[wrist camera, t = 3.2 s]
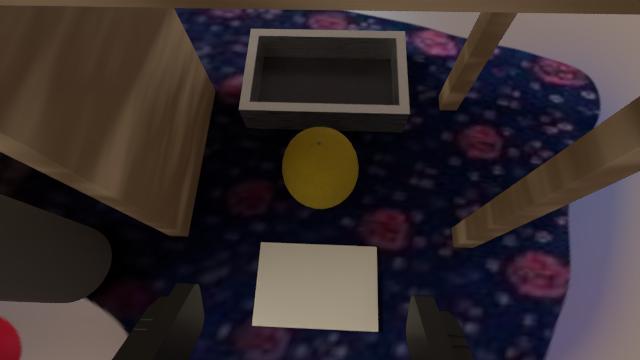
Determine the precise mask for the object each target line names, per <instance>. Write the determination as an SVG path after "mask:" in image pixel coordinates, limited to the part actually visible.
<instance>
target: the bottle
mask: <svg viewBox="0 0 640 360" xmlns="http://www.w3.org/2000/svg"><path fill="white" fill-rule="evenodd" d="M111 260H112V251H111V246H110V244H109V241H108V240H107V238H106V237H105V236H104V235H103V234H102V233H100V232H99V231H97V230H95V229H93V228H90V227H88V226H86V225H83V224H80V223H77V222H75V221H72V220H69V219H67V218H64V217H61V216H58V215H56V214H53V213H50V212H48V211H45V210H42V209H39V208H37V207H34V206H31V205H29V204H26V203H23V202H20V201H18V200H15V199H12V198H10V197H7V196H4V195H1V194H0V301H17V302H40V303H69V302H74V301H77V300H80V299H82V298H84V297H86V296H88V295H89V294H91V293H92V292H93V291H95V290H96V289H97V288H98V287H99V285H100V284H101V283H102V282H103V280H104V279H105V277H106V275H107V274H108V271H109V268H110V266H111Z"/></svg>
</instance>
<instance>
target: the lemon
mask: <svg viewBox="0 0 640 360" xmlns="http://www.w3.org/2000/svg"><path fill="white" fill-rule="evenodd" d="M358 168H359V166H358V160H357V155H356V152H355V150H354V148H353V146H352V144H351V143H350V141H349V140H348V139H347V138H346V137H345V136H344V135H343V134H341V133H340V132H338V131H337V130H334V129H331V128H327V127H312V128H309V129H306V130H304V131H302V132H300V133H299V134H297V135H296V136H295V137H294V138H293V139H292V140H291V142H290V143H289V145H288V146H287V148H286V151H285V154H284V157H283V162H282V174H283V178H284V182H285V185H286V187H287V189H288V190H289V192H290V194H291V195H292V196H293V197H294V198H295V199H296V200H297V201H298V202H300V203H302V204H303V205H305V206H308V207H311V208H315V209H326V208H331V207H333V206H335V205H338V204H340V203H341V202H342V201H344V200H345V199H346V198H347V197H348V196H349V195H350V193H351V192H352V190H353V189H354V187H355V184H356V181H357V178H358Z"/></svg>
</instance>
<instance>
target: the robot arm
mask: <svg viewBox="0 0 640 360" xmlns="http://www.w3.org/2000/svg"><path fill="white" fill-rule="evenodd" d="M203 324H204V310H203V304H202V297H201V291H200V286H199V285H198V284H189V283H177V284H176V285H175V287H174V288H173V290H172V291H171V293H170V294H169V296H168V297H162V296H161V297H160V298H159V299H158V300H156V301H155V302H154V303H153V304H151V305H150V306H149V307H148V308H147V310H146V311H145V313H144V314H143V316H142V317H141V320H140V321H138V323H137V324H136V326H135V327H134V330H132V332H131V333H130V335H129V336H128V337H127V339H126V340H125V342H124V343H123V345H122V346H121V348H120V349H119V350H118V352H117V353H116V355H115V356H114V358H113V359H112V360H189V357H190V355H191V353H192V351H193V349H194V346H195V344H196V342H197V340H198V338H199V336H200V333H201V331H202V328H203ZM406 339H407V345H408V350H409V354H410V359H411V360H474V359H473V356H472V354H471V351H470V349H469V348H468V347H469V346H468V344H467V342H466V339H465V338H464V334H463V332H462V330H461V327H460V325H459V323H458V322H457V320H456V319H455V318H454V317H453V316H452V315H451V314H450V313H449V312H448V311H439V310H438V307H437V305H436V302H435V299H434V297H433V296H427V295H412V296H411V299H410V305H409V311H408V318H407V324H406Z"/></svg>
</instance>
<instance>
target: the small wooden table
mask: <svg viewBox="0 0 640 360" xmlns="http://www.w3.org/2000/svg"><path fill="white" fill-rule="evenodd" d="M174 8H228V9H297V10H369V11H373V10H374V11H438V12H481V13H480V15H479V17H478V19H477V21H476V23H475V25H474V27H473V29H472V31H471V33H470V35H469V37H468V39H467V41H466V43H465V45H464V47H463V49H462V51H461V53H460V55H459V57H458V58H457V60H456V62H455V64H454V66H453V68H452V70H451V72H450V74H449V76H448V78H447V80H446V82H445V84H444V86H443V88H442V90H441V92H440V94H439V96H438V97H439V107H440V110H457V109H458V107H459V106H460V104H461V102H462V101H463V99H464V98H465V96H466V94H467V93H468V91H469V90H470V88H471V86H472V85H473V83H474V82H475V80H476V79H477V77H478V75H479V74H480V72H481V71H482V69H483V67H484V66H485V64H486V63H487V61H488V59H489V58H490V56H491V55H492V53H493V51H494V50H495V48H496V47H497V45H498V44H499V42H500V40H501V39H502V37H503V35H504V34H505V32H506V31H507V29H508V28H509V26H510V24H511V22H512V21H513V20H514V18H515V16H516V15H517V13H577V14H580V13H581V14H640V0H0V152H2V153H4V154H6V155H8V156H10V157H12V158H14V159H16V160H18V161H20V162H22V163H24V164H26V165H28V166H30V167H32V168H34V169H36V170H38V171H40V172H42V173H44V174H46V175H48V176H50V177H52V178H54V179H57V180H59V181H61V182H63V183H65V184H67V185H69V186H71V187H73V188H75V189H77V190H79V191H81V192H83V193H85V194H87V195H89V196H91V197H93V198H95V199H97V200H99V201H101V202H103V203H105V204H107V205H109V206H111V207H113V208H115V209H117V210H119V211H121V212H123V213H125V214H127V215H129V216H131V217H133V218H135V219H137V220H139V221H141V222H143V223H145V224H147V225H149V226H151V227H153V228H155V229H157V230H159V231H161V232H163V233H165V234H167V235H169V236H187V237H188V234H189V229H190V224H191V218H192V213H193V208H194V202H195V197H196V192H197V186H198V181H199V176H200V171H201V165H202V160H203V155H204V149H205V144H206V139H207V133H208V128H209V123H210V117H211V112H212V107H213V102H214V96H215V89H214V87H213V85H212V83H211V81H210V79H209V77H208V75H207V73H206V71H205V69H204V67H203V65H202V63H201V61H200V59H199V57H198V55H197V53H196V51H195V49H194V47H193V45H192V43H191V41H190V39H189V38H188V36H187V34H186V32H185V30H184V28H183V26H182V24H181V22H180V20H179V18H178V16H177V14H176V12H175V10H174ZM638 171H640V97H638V98H637V99H635V100H634V101H632V102H631V103H630V104H628V105H627V106H625V107H624V108H622V109H621V110H620V111H618V112H617V113H615V114H614V115H613V116H611V117H610V118H608V119H607V120H605V121H604V122H602V123H601V124H600V125H598V126H597V127H595V128H594V129H592V130H591V131H590V132H588V133H587V134H585V135H584V136H582V137H581V138H580V139H578V140H577V141H575V142H574V143H572V144H571V145H570V146H568V147H567V148H565V149H564V150H562V151H561V152H560V153H558V154H557V155H555V156H554V157H552V158H551V159H550V160H548V161H547V162H545V163H544V164H542V165H541V166H540V167H538V168H537V169H535V170H534V171H532V172H531V173H530V174H528V175H527V176H525V177H524V178H522V179H521V180H520V181H518V182H517V183H515V184H514V185H512V186H511V187H510V188H508V189H507V190H505V191H504V192H502V193H501V194H500V195H498V196H497V197H495V198H494V199H492V200H491V201H490V202H488V203H487V204H485V205H484V206H482V207H481V208H480V209H478V210H477V211H475V212H474V213H472V214H471V215H470V216H468V217H467V218H465V219H464V220H462V221H461V222H460V223H458V224H457V225H455V226H454V227H452V237H453V247H465V248H474V247H476V246H478V245H480V244H482V243H485V242H487V241H489V240H491V239H493V238H495V237H498V236H500V235H502V234H504V233H506V232H508V231H511V230H513V229H515V228H517V227H519V226H521V225H524V224H526V223H528V222H530V221H532V220H534V219H537V218H539V217H541V216H543V215H545V214H547V213H550V212H552V211H554V210H556V209H558V208H560V207H563V206H565V205H567V204H569V203H571V202H573V201H575V200H577V199H580V198H582V197H584V196H586V195H589V194H590V193H593V192H595V191H597V190H599V189H602V188H604V187H606V186H608V185H610V184H612V183H615V182H617V181H619V180H621V179H623V178H625V177H628V176H630V175H632V174H634V173H636V172H638Z"/></svg>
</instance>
